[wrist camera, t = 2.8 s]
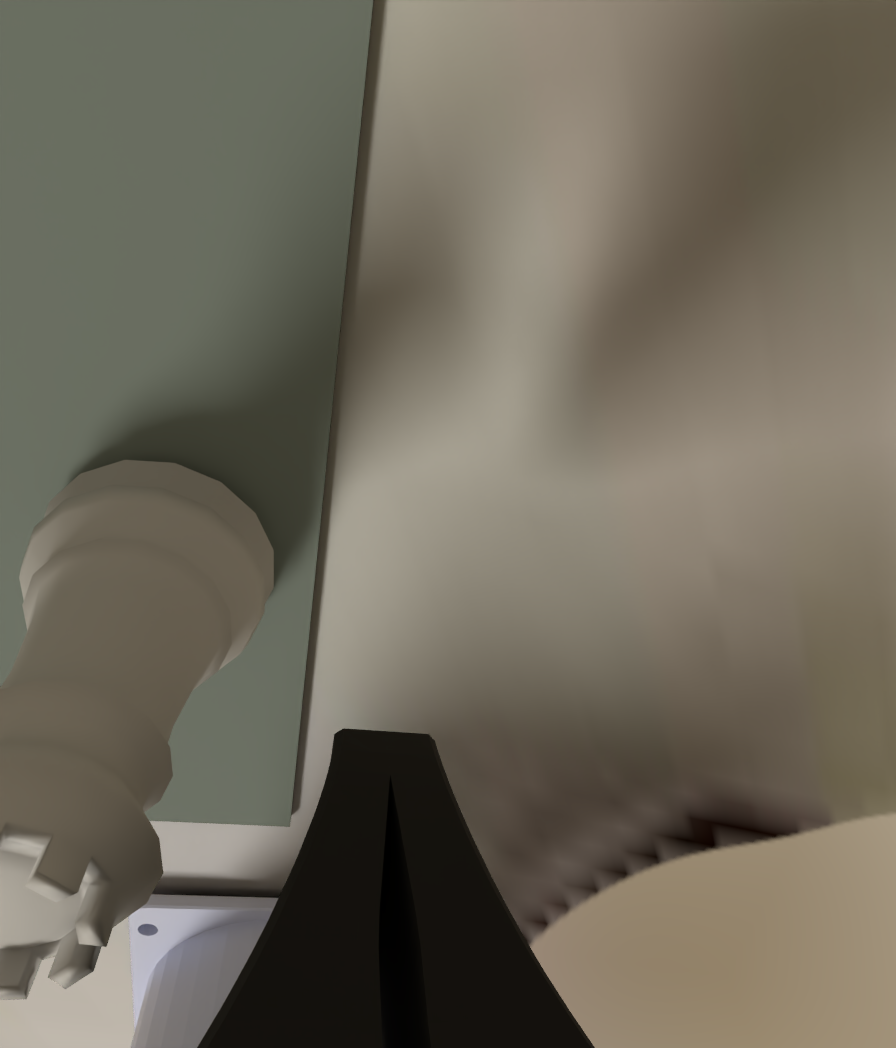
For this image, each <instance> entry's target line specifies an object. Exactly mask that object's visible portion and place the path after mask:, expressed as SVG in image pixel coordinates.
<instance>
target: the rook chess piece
mask: <svg viewBox="0 0 896 1048" xmlns="http://www.w3.org/2000/svg"><path fill="white" fill-rule="evenodd" d="M19 579H20V584H21V590H22V595H23V600H24V602H23V604H22V606H23V611H24V616H25V621H26V626H27V633H26V636H25V638H24V640H23V643H22V645H21V648H20V650H19V653H18V655H17V658H16V660H15V663H14V665H13V667H12V670H11V672H10V673H9V675H8V676H7V678H6V680H5V681H4V683H3V684H2V686H1V687H0V1000H19V999H27V997H28V994H29V992H30V989H31V987H32V984H33V981H34V979H35V976H36V974H37V971H38V969H39V966H40V963H41V961H42V960H44V959H48V958H52V957H55V959H54V962H53V965H52V967H51V970H50V973H49V975H48V978H50V979H51V980H53V981H54V982H56V983H57V984H59V985H60V986H62V987H63V988H65V989H66V988H68V987H70V986H71V985H73V984H74V983H76V982H77V981H79V980H80V979H82V978H83V977H85V976H86V975H88V974H89V973H91V972H93V971H94V968H95V965H96V962H97V959H98V956H99V953H100V949H101V946H105V947H106V946H107V943H108V940H109V937H110V934H111V931H112V928H113V927H114V926H116V925H117V924H118V923H120V922H121V921H123V920H124V919H125V918H127V917H128V916H130V915H131V914H132V913H134V912H135V911H137V910H138V909H139V908H141V907H142V906H144V905H145V904H146V903H147V902H148V900H149V898H150V896H151V894H152V893H153V891H154V889H155V887H156V885H157V883H158V882H159V880H160V878H161V876H162V874H163V868H162V859H161V850H160V842H159V837H158V836H157V834H156V832H155V830H154V829H153V827H152V825H151V823H150V822H149V820H148V818H147V816H146V815H145V813H144V812H145V811H147V810H148V809H150V808H151V807H152V806H154V805H155V804H157V803H158V802H159V801H160V800H161V798H162V796H163V794H164V792H165V790H166V788H167V787H168V785H169V783H170V781H171V779H172V777H173V771H172V761H171V750H170V746H169V745H168V741H169V738H170V735H171V732H172V729H173V726H174V724H175V722H176V720H177V718H178V716H179V715H180V713H181V711H182V709H183V707H184V705H185V703H186V701H187V700H188V698H189V696H190V694H191V692H192V691H193V690H194V689H195V688H196V687H198V686H199V685H200V684H202V683H203V682H204V681H206V680H207V679H208V678H210V677H211V676H212V675H214V674H215V673H216V672H218V671H219V670H220V669H221V668H222V667H224V666H225V665H226V664H228V663H229V662H230V661H232V660H233V659H234V658H236V657H237V656H238V655H240V654H241V652H242V651H243V650H244V648H245V647H246V646H247V645H248V643H249V641H250V639H251V637H252V635H253V633H254V632H255V630H256V628H257V626H258V624H259V622H260V620H261V618H262V616H263V614H264V612H265V603H266V601H267V599H268V597H269V595H270V593H271V591H272V590H273V588H274V550H273V548H272V546H271V544H270V542H269V540H268V538H267V536H266V533H265V531H264V529H263V527H262V525H261V523H260V521H259V519H258V517H257V515H256V513H255V512H254V511H253V510H252V509H250V508H249V507H248V506H247V505H246V504H245V503H244V502H243V501H242V500H240V499H239V498H238V497H237V496H236V495H235V494H234V493H233V492H232V491H230V490H229V489H228V488H227V487H226V486H225V485H224V484H223V483H222V482H220V481H217V480H215V479H213V478H210V477H208V476H205V475H203V474H200V473H198V472H196V471H193V470H191V469H188V468H186V467H184V466H181V465H179V464H176V463H169V462H153V461H136V460H122V461H119V462H116V463H113V464H110V465H106V466H103V467H100V468H97V469H94V470H90V471H87V472H84V473H81V474H79V475H78V476H77V477H76V478H75V479H74V480H73V481H72V482H70V483H69V484H68V485H67V486H66V487H65V488H64V489H63V490H62V491H61V492H59V493H58V494H57V495H56V496H55V497H54V498H53V499H52V500H51V501H50V502H49V504H48V507H47V510H46V513H45V516H44V519H43V520H41V521H40V522H39V523H38V524H37V525H36V526H35V527H34V529H33V532H32V535H31V538H30V541H29V544H28V547H27V550H26V553H25V556H24V559H23V562H22V565H21V570H20V576H19Z"/></svg>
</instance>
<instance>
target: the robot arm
mask: <svg viewBox="0 0 896 1048" xmlns="http://www.w3.org/2000/svg"><path fill="white" fill-rule="evenodd" d="M128 917H129V936H130V955H131V974H132V992H133V1011H134V1030H135V1033H134V1037H133V1040H132V1044H131V1048H594V1046H593V1045H592V1043H591V1041H590V1040H589V1039H588V1037H587V1036H586V1034H585V1033H584V1031H583V1030H582V1028H581V1027H580V1025H579V1024H578V1022H577V1021H576V1020H575V1018H574V1017H573V1015H572V1014H571V1012H570V1011H569V1009H568V1008H567V1006H566V1004H565V1003H564V1001H563V1000H562V998H561V997H560V995H559V994H558V992H557V991H556V989H555V988H554V986H553V984H552V983H551V981H550V980H549V978H548V977H547V975H546V973H545V972H544V970H543V968H542V967H541V965H540V963H539V962H538V960H537V959H536V957H535V955H534V953H533V952H532V950H531V948H530V946H529V945H528V943H527V941H526V940H525V938H524V936H523V934H522V933H521V931H520V929H519V927H518V925H517V924H516V922H515V920H514V918H513V916H512V915H511V913H510V911H509V909H508V907H507V906H506V904H505V902H504V900H503V898H502V896H501V894H500V892H499V890H498V888H497V887H496V885H495V883H494V881H493V879H492V877H491V875H490V873H489V871H488V869H487V867H486V865H485V862H484V860H483V858H482V856H481V854H480V852H479V850H478V848H477V846H476V844H475V842H474V840H473V838H472V836H471V833H470V831H469V829H468V827H467V824H466V822H465V820H464V818H463V815H462V813H461V811H460V808H459V806H458V803H457V801H456V799H455V796H454V794H453V791H452V789H451V786H450V784H449V781H448V779H447V776H446V773H445V771H444V768H443V765H442V762H441V759H440V756H439V753H438V750H437V747H436V744H435V741H434V740H433V739H432V737H431V736H430V735H429V734H417V733H402V732H387V731H372V730H357V729H342V730H340V731H339V732H337V733H336V734H334V741H333V749H332V756H331V762H330V766H329V770H328V774H327V778H326V781H325V785H324V788H323V791H322V794H321V797H320V800H319V803H318V806H317V809H316V812H315V814H314V817H313V819H312V822H311V824H310V827H309V829H308V832H307V834H306V837H305V839H304V842H303V845H302V847H301V850H300V852H299V855H298V857H297V859H296V862H295V864H294V866H293V868H292V871H291V873H290V875H289V877H288V879H287V881H286V883H285V886H284V888H283V890H282V892H281V894H280V896H279V898H266V897H232V896H197V895H162V894H151V896H150V898H149V900H148V902H147V903H146V904H145V905H144V906H142V907H141V908H139V909H138V910H137V911H135V912H134V913H132V914H131V915H130V916H128Z"/></svg>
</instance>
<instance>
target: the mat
mask: <svg viewBox="0 0 896 1048" xmlns="http://www.w3.org/2000/svg"><path fill="white" fill-rule="evenodd" d="M372 10H373V0H0V687H1V686H2V684H3V683H4V681H5V680H6V678H7V676H8V675H9V673H10V672H11V670H12V667H13V665H14V663H15V660H16V658H17V655H18V653H19V650H20V648H21V645H22V643H23V640H24V638H25V636H26V633H27V626H26V621H25V616H24V611H23V606H22V604H23V602H24V600H23V595H22V590H21V584H20V579H19V576H20V570H21V565H22V562H23V559H24V556H25V553H26V550H27V547H28V544H29V541H30V538H31V535H32V532H33V529H34V527H35V526H36V525H37V524H38V523H39V522H40V521H41V520H43V519H44V516H45V513H46V510H47V507H48V504H49V502H50V501H51V500H52V499H53V498H54V497H55V496H56V495H57V494H58V493H59V492H61V491H62V490H63V489H64V488H65V487H66V486H67V485H68V484H69V483H70V482H72V481H73V480H74V479H75V478H76V477H77V476H78V475H79V474H81V473H84V472H87V471H90V470H94V469H97V468H100V467H103V466H106V465H110V464H113V463H116V462H119V461H122V460H136V461H153V462H169V463H176V464H179V465H181V466H184V467H186V468H188V469H191V470H193V471H196V472H198V473H200V474H203V475H205V476H208V477H210V478H213V479H215V480H217V481H220V482H222V483H223V484H224V485H225V486H226V487H227V488H228V489H229V490H230V491H232V492H233V493H234V494H235V495H236V496H237V497H238V498H239V499H240V500H242V501H243V502H244V503H245V504H246V505H247V506H248V507H249V508H250V509H252V510H253V511H254V512H255V513H256V515H257V517H258V519H259V521H260V523H261V525H262V527H263V529H264V531H265V533H266V536H267V538H268V540H269V542H270V544H271V546H272V548H273V550H274V588H273V590H272V591H271V593H270V595H269V597H268V599H267V601H266V603H265V612H264V614H263V616H262V618H261V620H260V622H259V624H258V626H257V628H256V630H255V632H254V633H253V635H252V637H251V639H250V641H249V643H248V645H247V646H246V647H245V648H244V650H243V651H242V652H241V654H240V655H238V656H237V657H236V658H234V659H233V660H232V661H230V662H229V663H228V664H226V665H225V666H224V667H222V668H221V669H220V670H219V671H218V672H216V673H215V674H214V675H212V676H211V677H210V678H208V679H207V680H206V681H204V682H203V683H202V684H200V685H199V686H198V687H196V688H195V689H194V690H193V691H192V692H191V694H190V696H189V698H188V700H187V701H186V703H185V705H184V707H183V709H182V711H181V713H180V715H179V716H178V718H177V720H176V722H175V724H174V726H173V729H172V732H171V735H170V738H169V741H168V745H169V746H170V750H171V761H172V771H173V777H172V779H171V781H170V783H169V785H168V787H167V788H166V790H165V792H164V794H163V796H162V798H161V800H160V801H159V802H158V803H157V804H155V805H154V806H152V807H151V808H150V809H148V810H147V811H145V812H144V813H145V815H146V816H147V818H148V820H149V821H170V822H193V823H216V824H239V825H262V826H285V827H290V820H291V811H292V801H293V791H294V781H295V771H296V761H297V751H298V741H299V731H300V722H301V712H302V702H303V692H304V682H305V672H306V662H307V652H308V643H309V633H310V623H311V613H312V603H313V593H314V583H315V573H316V563H317V554H318V544H319V534H320V524H321V514H322V504H323V494H324V484H325V474H326V465H327V455H328V445H329V435H330V425H331V415H332V405H333V395H334V386H335V376H336V366H337V356H338V346H339V336H340V326H341V316H342V306H343V297H344V287H345V277H346V267H347V257H348V247H349V237H350V227H351V217H352V208H353V198H354V188H355V178H356V168H357V158H358V148H359V138H360V129H361V119H362V109H363V99H364V89H365V79H366V69H367V59H368V49H369V40H370V30H371V20H372Z"/></svg>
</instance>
